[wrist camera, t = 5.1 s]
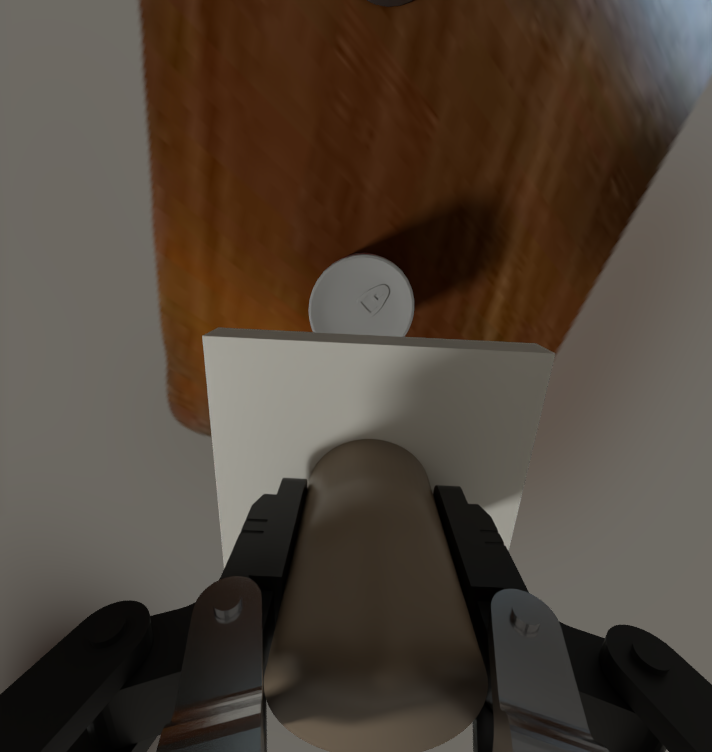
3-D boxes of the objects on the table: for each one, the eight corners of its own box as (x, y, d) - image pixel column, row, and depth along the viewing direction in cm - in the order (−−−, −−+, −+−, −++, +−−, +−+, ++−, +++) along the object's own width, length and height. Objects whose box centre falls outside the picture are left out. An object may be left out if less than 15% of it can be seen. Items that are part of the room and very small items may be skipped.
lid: (218, 327, 11) (24, 427, 5) (535, 343, 11) (772, 464, 5) (237, 571, 14) (138, 827, 8) (483, 583, 14) (582, 847, 8)
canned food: (414, 277, 36) (436, 289, 25) (372, 344, 38) (377, 380, 28) (348, 235, 34) (342, 230, 24) (309, 307, 37) (289, 330, 26)
